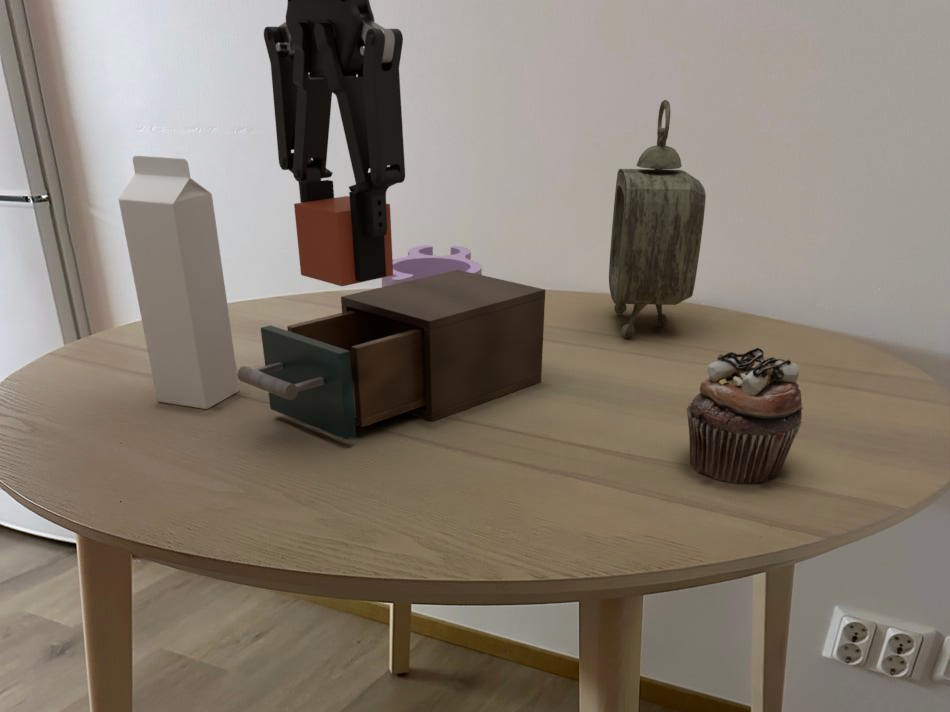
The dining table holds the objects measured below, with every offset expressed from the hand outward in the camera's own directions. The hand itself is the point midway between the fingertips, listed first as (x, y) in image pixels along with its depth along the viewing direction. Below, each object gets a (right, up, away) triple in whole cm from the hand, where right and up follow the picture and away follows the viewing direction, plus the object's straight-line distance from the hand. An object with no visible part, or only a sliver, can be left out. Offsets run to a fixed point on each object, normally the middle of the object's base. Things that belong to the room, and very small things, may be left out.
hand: (346, 271), depth 77 cm
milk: (-18, -6, +18) cm, 26 cm away
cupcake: (+34, -16, +4) cm, 37 cm away
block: (0, 0, 0) cm, 0 cm away
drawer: (-1, -8, +12) cm, 15 cm away
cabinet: (+8, -4, +21) cm, 23 cm away
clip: (+5, +11, +43) cm, 45 cm away
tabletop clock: (+32, +9, +40) cm, 53 cm away
